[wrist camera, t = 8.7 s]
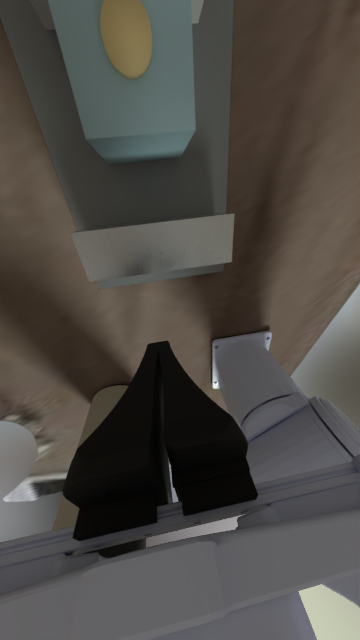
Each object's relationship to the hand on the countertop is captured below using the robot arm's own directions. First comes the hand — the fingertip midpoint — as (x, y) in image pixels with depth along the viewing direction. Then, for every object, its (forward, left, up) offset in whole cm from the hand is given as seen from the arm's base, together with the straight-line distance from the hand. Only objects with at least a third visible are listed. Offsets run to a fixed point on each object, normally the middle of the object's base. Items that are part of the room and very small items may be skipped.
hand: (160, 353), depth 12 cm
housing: (+14, -1, -7) cm, 16 cm away
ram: (+6, -1, -7) cm, 10 cm away
